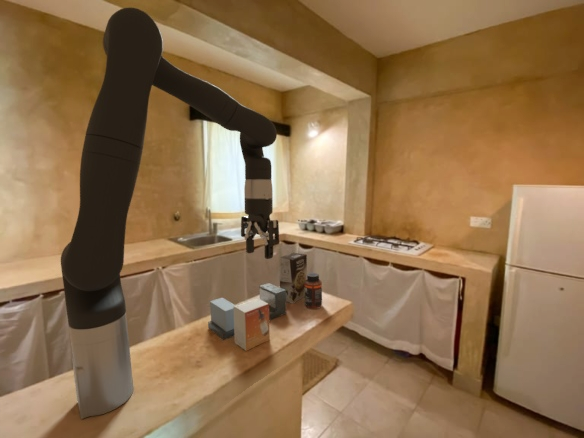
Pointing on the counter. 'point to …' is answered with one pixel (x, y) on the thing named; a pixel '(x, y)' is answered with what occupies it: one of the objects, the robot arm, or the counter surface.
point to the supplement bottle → (313, 291)
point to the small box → (251, 323)
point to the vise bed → (267, 294)
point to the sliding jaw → (222, 313)
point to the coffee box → (293, 276)
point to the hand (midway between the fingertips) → (259, 255)
